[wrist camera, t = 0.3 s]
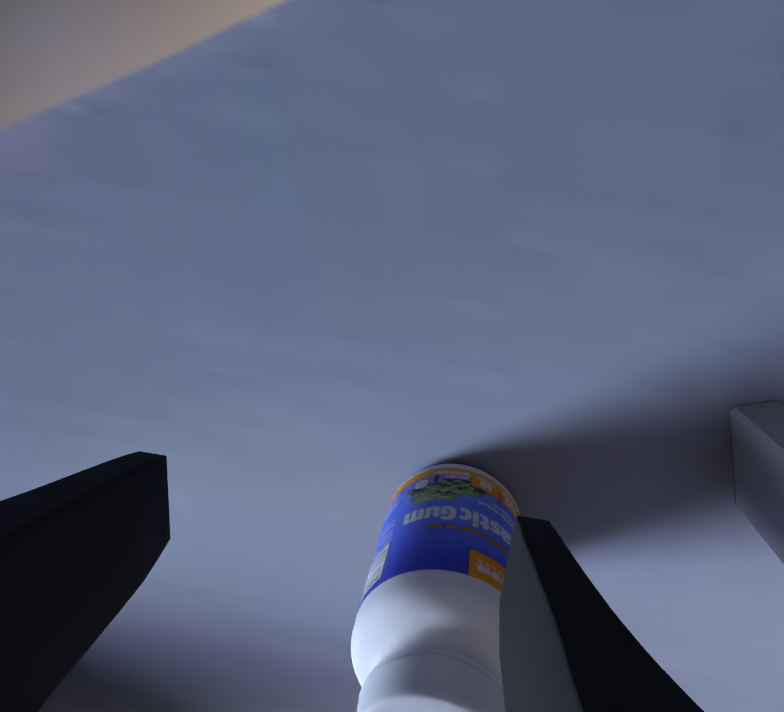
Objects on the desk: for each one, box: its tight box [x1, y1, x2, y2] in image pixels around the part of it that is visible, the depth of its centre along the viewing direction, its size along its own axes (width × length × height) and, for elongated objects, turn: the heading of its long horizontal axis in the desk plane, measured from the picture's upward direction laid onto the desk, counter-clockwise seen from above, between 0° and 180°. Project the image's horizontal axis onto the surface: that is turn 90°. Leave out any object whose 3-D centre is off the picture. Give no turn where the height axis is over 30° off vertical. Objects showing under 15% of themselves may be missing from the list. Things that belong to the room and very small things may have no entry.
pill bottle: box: [351, 464, 520, 712], centre depth 17 cm, size 5×5×10 cm
